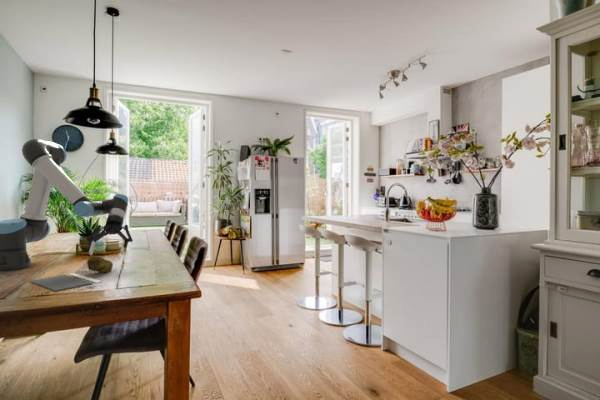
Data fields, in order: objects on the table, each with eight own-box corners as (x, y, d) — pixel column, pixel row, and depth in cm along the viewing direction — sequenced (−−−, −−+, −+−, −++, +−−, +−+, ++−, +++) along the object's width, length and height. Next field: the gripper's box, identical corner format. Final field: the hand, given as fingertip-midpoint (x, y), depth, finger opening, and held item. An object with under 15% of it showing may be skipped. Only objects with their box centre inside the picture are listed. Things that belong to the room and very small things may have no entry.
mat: (29, 281, 144) (29, 280, 144) (64, 275, 155) (64, 274, 155) (55, 291, 131) (55, 290, 131) (91, 284, 141) (91, 282, 141)
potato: (119, 270, 165) (119, 254, 165) (92, 276, 154) (92, 258, 153) (108, 268, 169) (108, 252, 169) (82, 274, 157) (81, 256, 157)
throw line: (68, 274, 156) (68, 274, 156) (74, 273, 158) (74, 273, 158) (96, 283, 143) (96, 282, 143) (102, 281, 145) (102, 281, 145)
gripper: (142, 223, 183) (135, 256, 169) (90, 223, 178) (79, 258, 164) (140, 214, 178) (133, 247, 164) (86, 214, 173) (74, 249, 158)
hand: (106, 253), depth 164 cm, fingers open, 13 cm apart
